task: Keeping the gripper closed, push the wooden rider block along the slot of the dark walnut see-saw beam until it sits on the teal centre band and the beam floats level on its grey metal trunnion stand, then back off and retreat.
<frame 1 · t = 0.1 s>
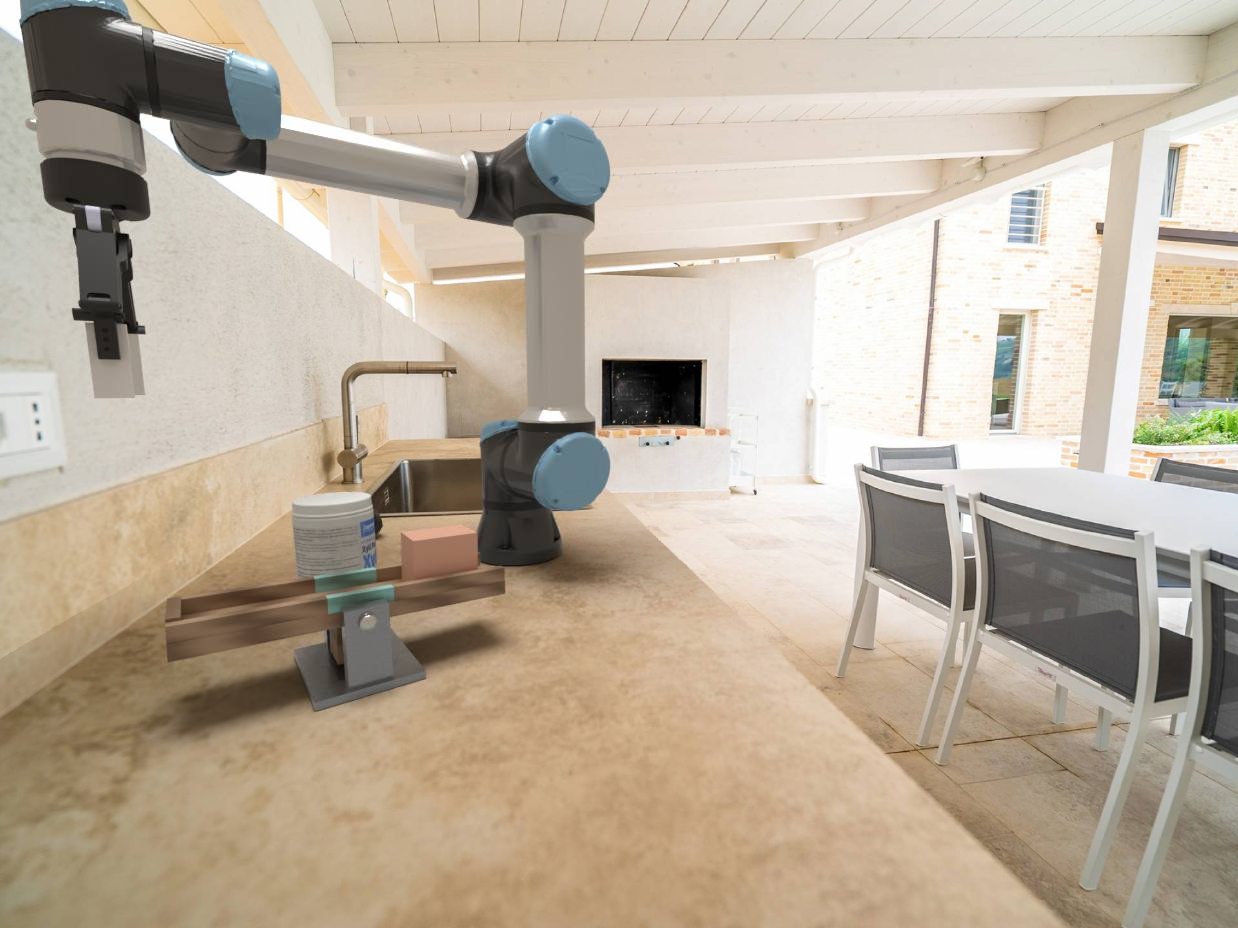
hand: (122, 397, 57), 28 cm above the counter, fingers open, 13 cm apart
stand: (357, 666, 60), on the counter
rider: (439, 580, 65), point 7 cm above the counter, touching beam
supplement tub: (340, 607, 77), on the counter
beam: (353, 615, 59), point 6 cm above the counter, hinge at -1.6°, touching rider
rock: (349, 541, 108), on the counter
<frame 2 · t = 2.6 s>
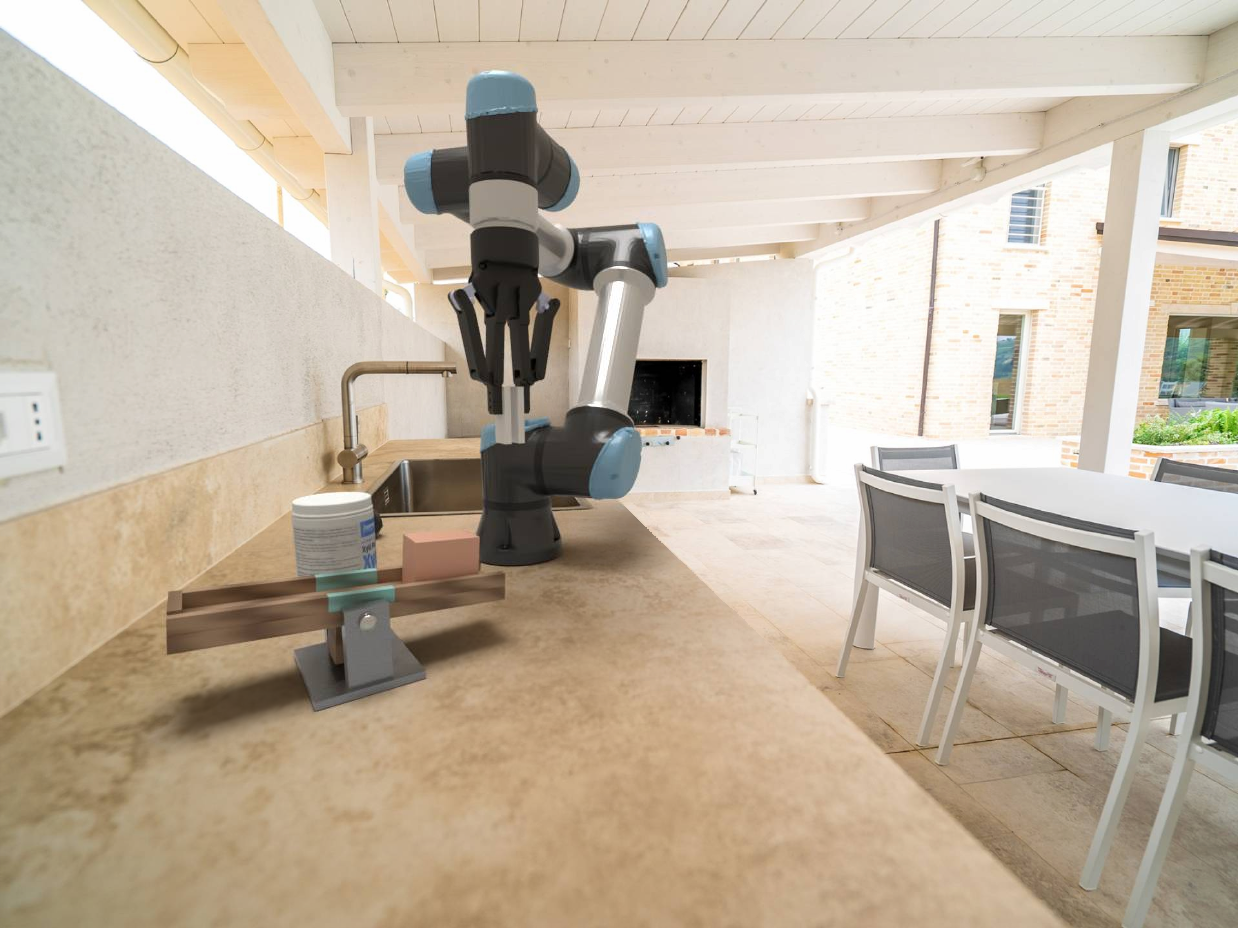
hand: (510, 442, 68), 22 cm above the counter, fingers closed
beam: (353, 615, 59), point 6 cm above the counter, hinge at -4.1°, touching rider
everything else where it was.
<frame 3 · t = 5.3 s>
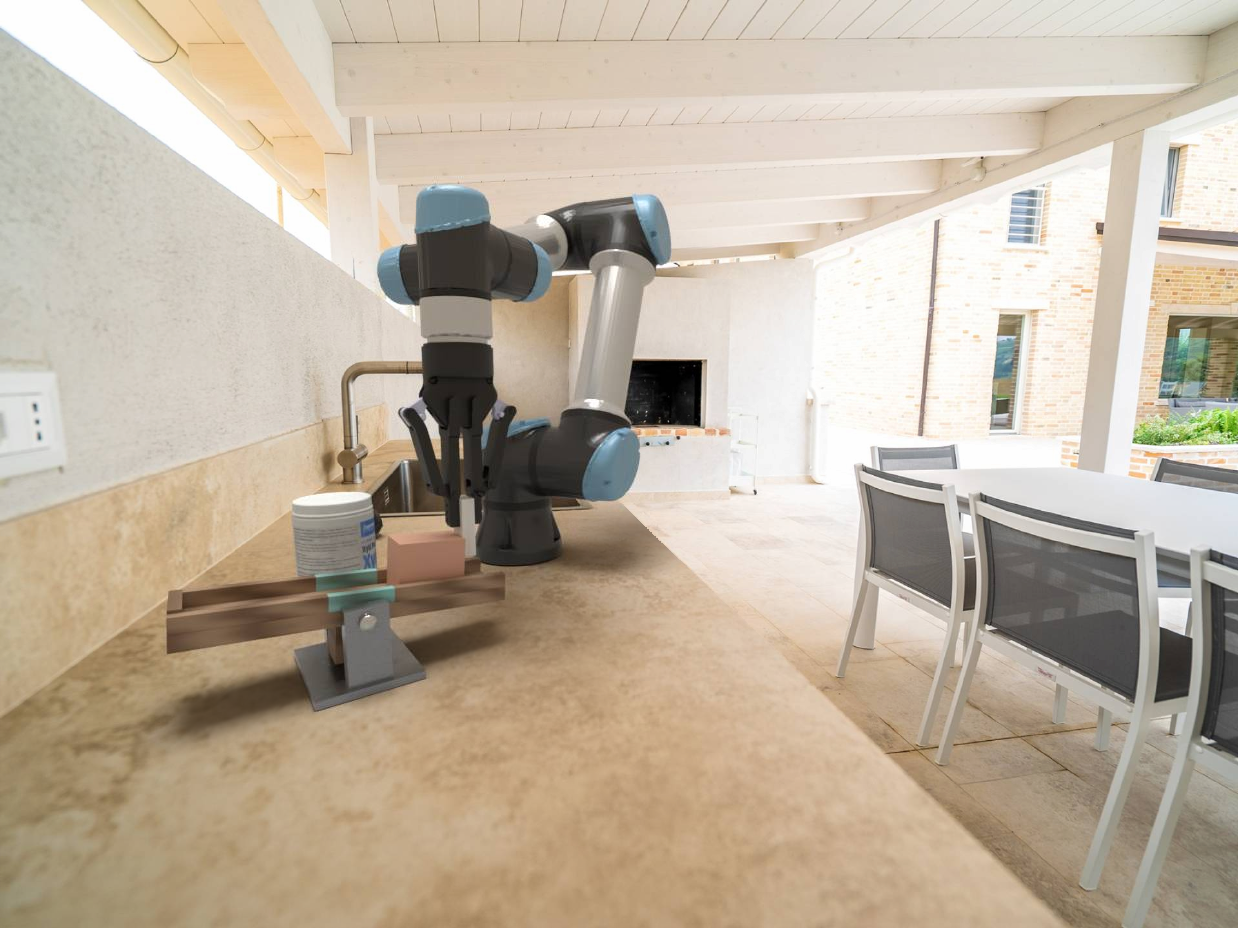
hand: (465, 553, 66), 10 cm above the counter, fingers closed
rider: (425, 586, 64), point 7 cm above the counter, touching beam, gripper
everything else where it was.
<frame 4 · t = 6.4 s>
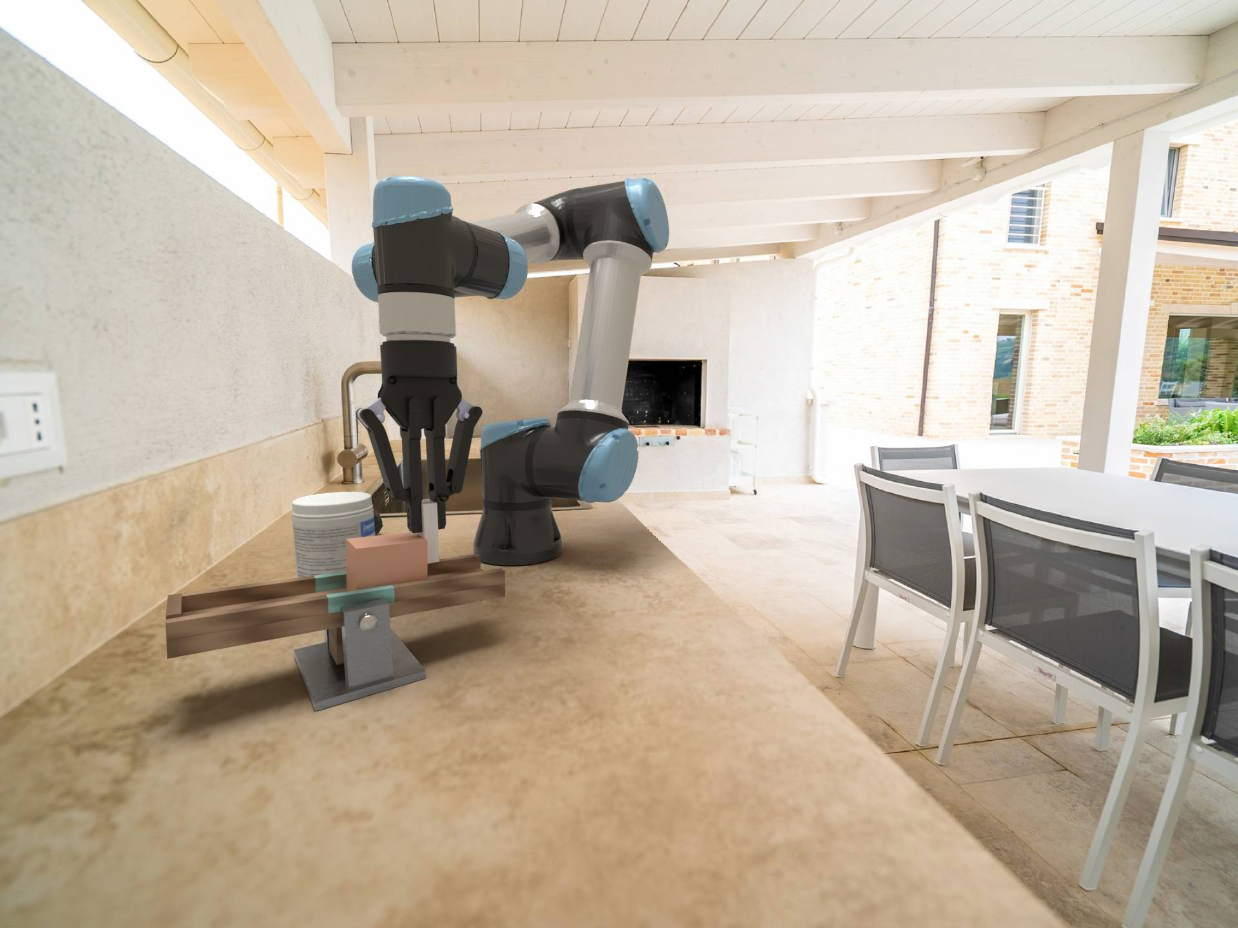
hand: (428, 559, 63), 10 cm above the counter, fingers closed
rider: (387, 590, 61), point 8 cm above the counter, touching gripper
beam: (353, 615, 59), point 6 cm above the counter, hinge at -2.8°
everything else where it was.
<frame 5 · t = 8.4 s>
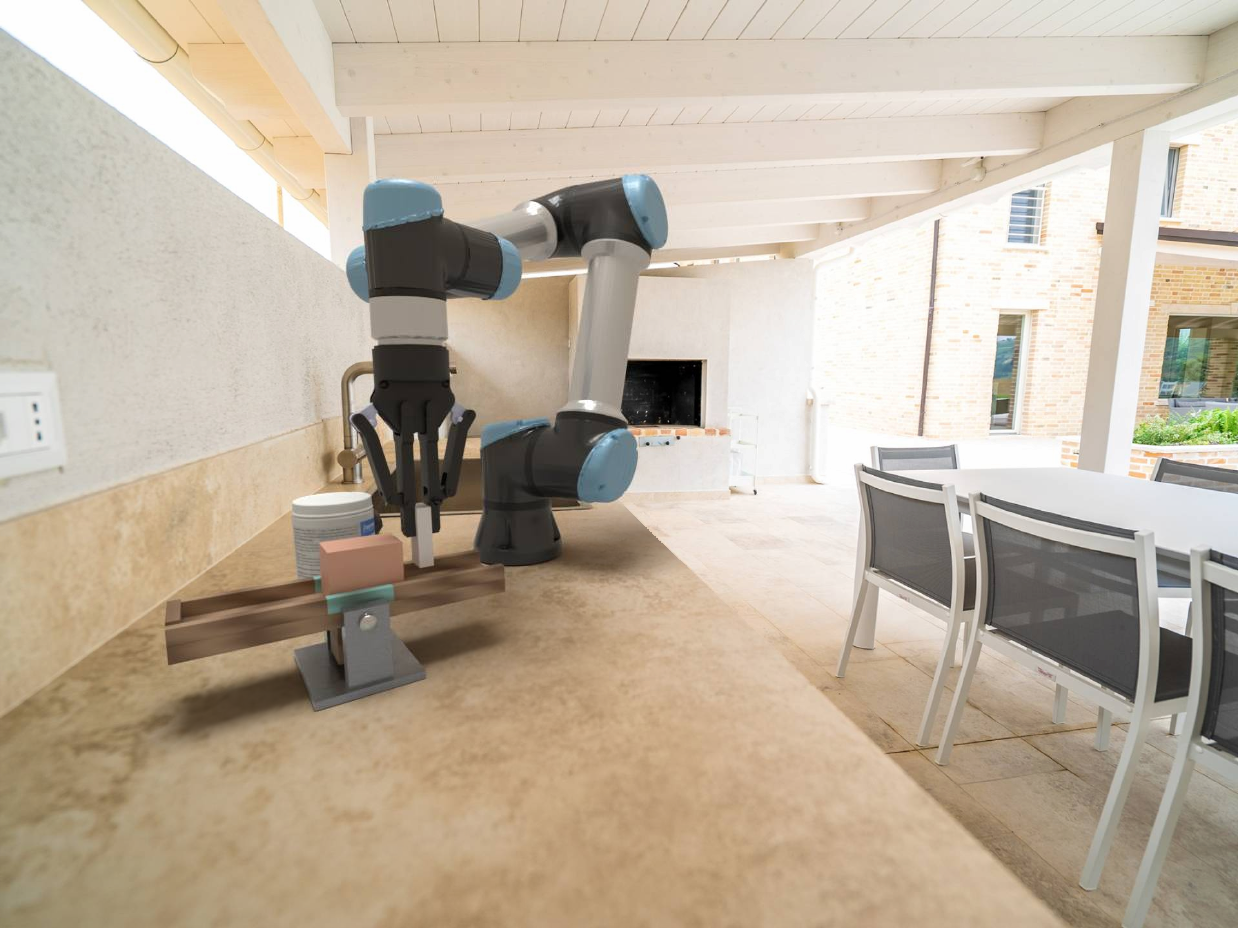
hand: (422, 563, 63), 10 cm above the counter, fingers closed
rider: (363, 593, 60), point 8 cm above the counter, touching beam
beam: (354, 615, 59), point 6 cm above the counter, hinge at -0.6°, touching rider
everything else where it was.
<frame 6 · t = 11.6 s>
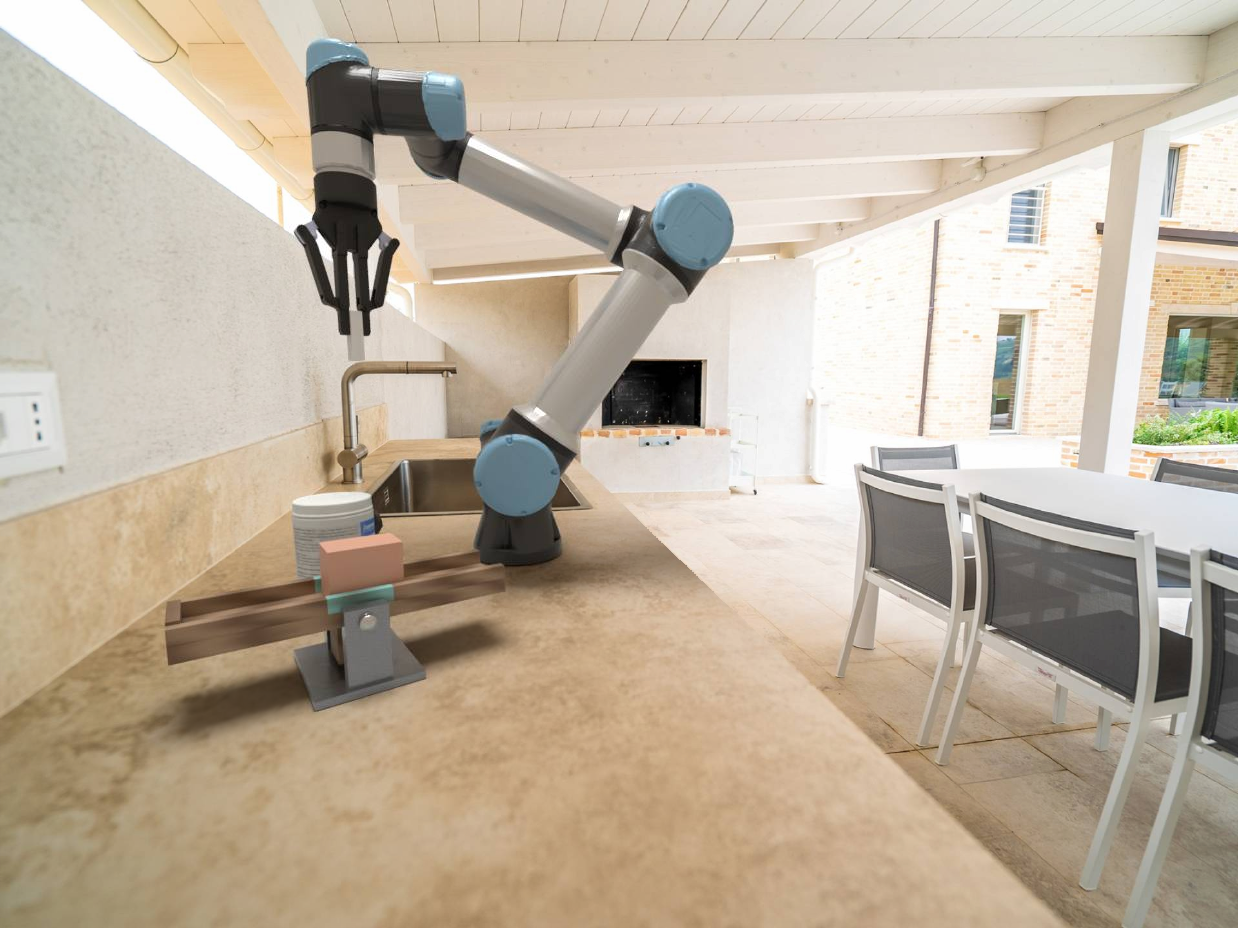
hand: (356, 360, 79), 32 cm above the counter, fingers closed
nothing on the counter moved.
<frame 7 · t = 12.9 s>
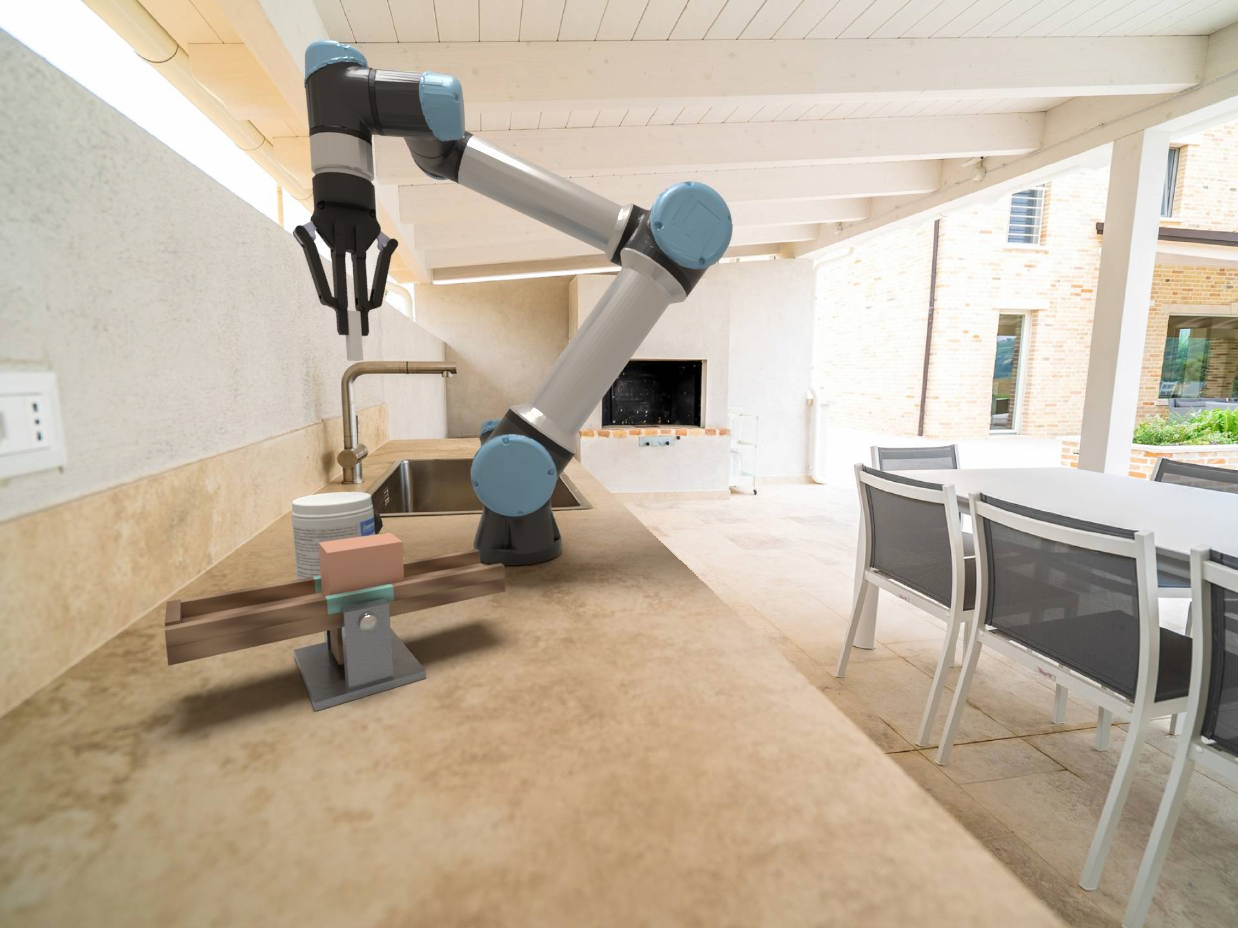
hand: (355, 360, 80), 32 cm above the counter, fingers closed
nothing on the counter moved.
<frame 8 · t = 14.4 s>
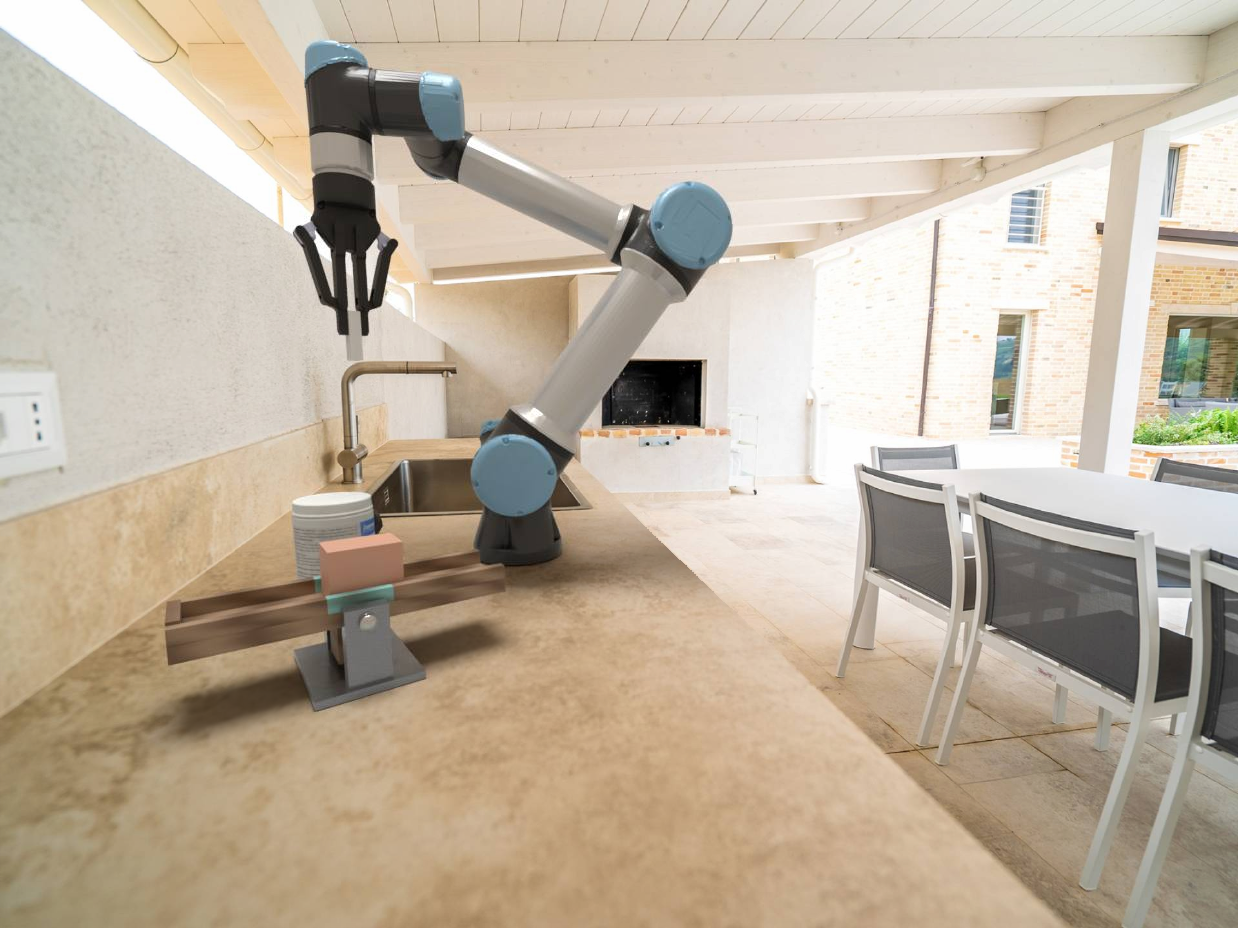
hand: (355, 360, 80), 32 cm above the counter, fingers closed
nothing on the counter moved.
at the end: rider 1.0 cm off-centre on the beam, point 0.7 cm above the beam's base; beam at +0° (first picture: -1°); rider tilted 1° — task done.
